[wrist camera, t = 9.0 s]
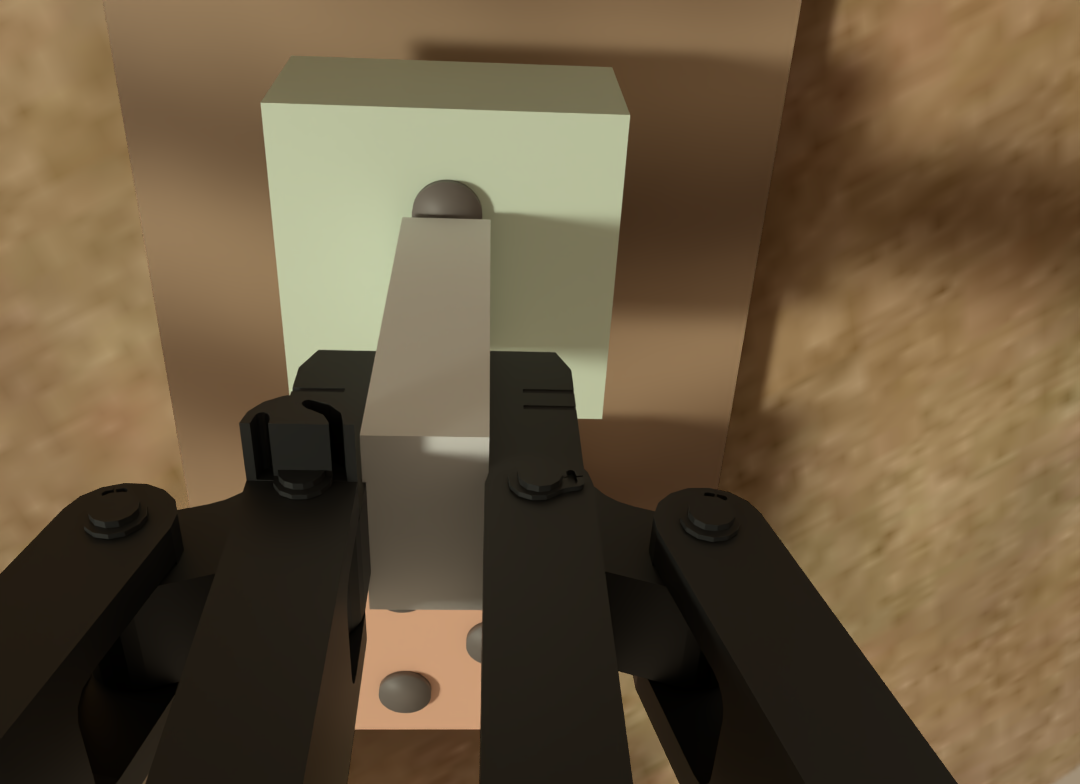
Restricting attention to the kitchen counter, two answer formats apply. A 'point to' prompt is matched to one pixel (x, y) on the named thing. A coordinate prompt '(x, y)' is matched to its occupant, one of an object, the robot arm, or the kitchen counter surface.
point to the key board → (464, 36)
